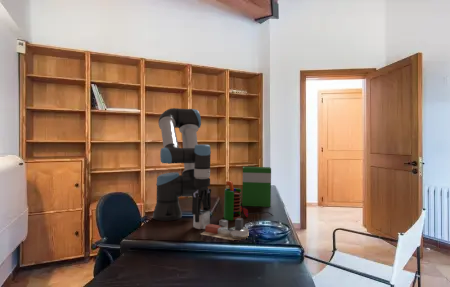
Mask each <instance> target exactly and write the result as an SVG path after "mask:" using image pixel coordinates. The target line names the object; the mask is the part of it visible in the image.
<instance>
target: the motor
mask: <svg viewBox="0 0 450 287" xmlns="http://www.w3.org/2000/svg"><path fill="white" fill-rule="evenodd" d="M225 186H229V188H228V187H227V188H225V189H224V194H223V196H224V197H223V202H224V203H223V220H228V221H235V219H237V218H242V217H241V216H242V215H241V213H240V210H241V206H242V189H241V188H237V187H236V188H235V187H234V184H233V181H231V180H227V181H226V182H225Z"/></svg>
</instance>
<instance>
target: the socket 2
mask: <svg viewBox="0 0 450 287" xmlns="http://www.w3.org/2000/svg"><path fill="white" fill-rule="evenodd" d="M218 225H220V226H221V227H225V228H229V220H226V219H220V220H219V221H218Z"/></svg>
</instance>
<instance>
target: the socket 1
mask: <svg viewBox="0 0 450 287" xmlns="http://www.w3.org/2000/svg"><path fill="white" fill-rule="evenodd" d="M192 215H193V219H192V220H193V221H192V224H193V226H192V228H194V229H196V228H195V215H194V214H192ZM200 215H201V229H202V230H205V226H206V225H208V224H211V210H210V211H206V210H203V209H201V211H200ZM201 229H200V230H201Z"/></svg>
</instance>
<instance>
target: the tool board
mask: <svg viewBox="0 0 450 287" xmlns="http://www.w3.org/2000/svg"><path fill="white" fill-rule="evenodd" d="M200 235H202V236H203V235H204V236H207V237H213V238H219V239H223V240H228V241H229V240H230V241H234V240H238V239H233V238H231V237H230V236H227V235H221V234H214V233H209V232H205V231H203V232H201V233H200Z"/></svg>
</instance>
